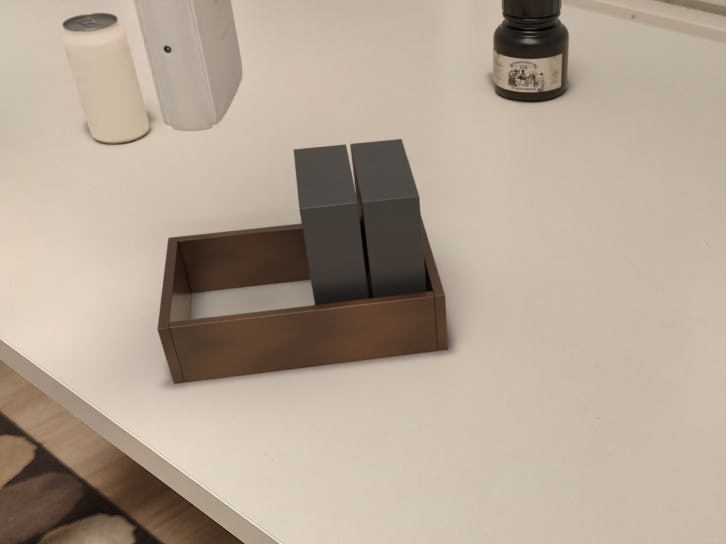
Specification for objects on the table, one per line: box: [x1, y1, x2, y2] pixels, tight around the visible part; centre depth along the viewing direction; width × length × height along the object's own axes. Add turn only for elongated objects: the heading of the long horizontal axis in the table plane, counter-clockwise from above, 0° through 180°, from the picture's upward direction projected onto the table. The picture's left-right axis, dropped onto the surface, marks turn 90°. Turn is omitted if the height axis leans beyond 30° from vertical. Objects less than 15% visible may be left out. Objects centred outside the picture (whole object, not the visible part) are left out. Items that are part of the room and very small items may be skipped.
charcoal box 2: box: [349, 138, 426, 299], centre depth 73 cm, size 4×10×12 cm, turn 11°
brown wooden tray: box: [156, 216, 449, 385], centre depth 75 cm, size 21×14×6 cm, turn 101°
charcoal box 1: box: [293, 144, 370, 305], centre depth 72 cm, size 4×10×12 cm, turn 11°
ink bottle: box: [492, 0, 570, 101], centre depth 110 cm, size 10×9×12 cm
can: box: [61, 12, 151, 145], centre depth 103 cm, size 6×6×12 cm
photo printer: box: [133, 0, 243, 132], centre depth 61 cm, size 10×4×12 cm, turn 0°
